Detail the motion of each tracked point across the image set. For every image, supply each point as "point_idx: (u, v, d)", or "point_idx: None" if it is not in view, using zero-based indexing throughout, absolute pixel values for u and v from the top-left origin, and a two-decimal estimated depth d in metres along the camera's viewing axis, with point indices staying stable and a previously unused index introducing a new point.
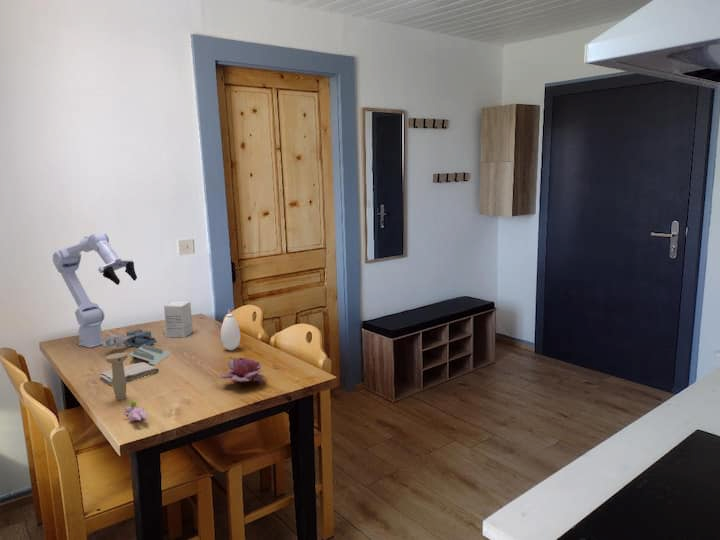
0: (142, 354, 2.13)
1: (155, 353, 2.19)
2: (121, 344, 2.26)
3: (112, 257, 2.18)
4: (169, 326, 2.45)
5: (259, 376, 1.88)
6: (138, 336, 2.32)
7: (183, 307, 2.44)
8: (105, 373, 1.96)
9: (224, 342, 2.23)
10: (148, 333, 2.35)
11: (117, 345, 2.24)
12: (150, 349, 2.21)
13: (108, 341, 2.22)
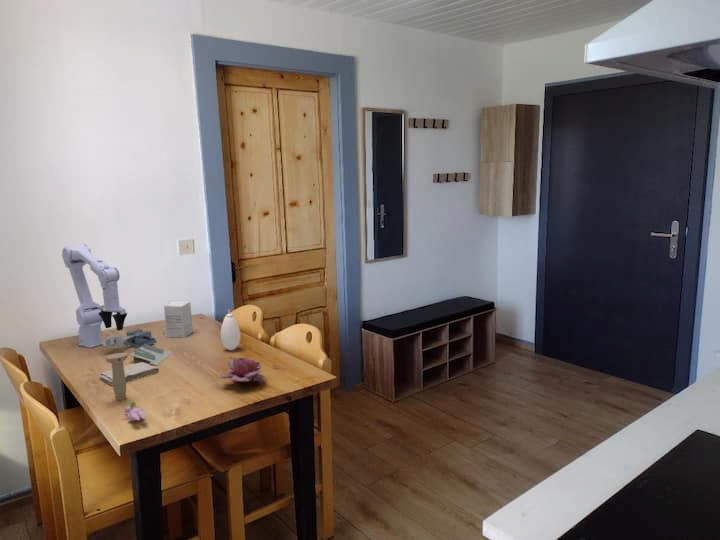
0: (143, 354, 2.13)
1: (156, 353, 2.19)
2: (121, 344, 2.26)
3: (104, 304, 2.22)
4: (169, 326, 2.45)
5: (259, 376, 1.88)
6: (138, 336, 2.32)
7: (183, 307, 2.44)
8: (105, 373, 1.96)
9: (224, 342, 2.23)
10: (148, 333, 2.35)
11: (117, 345, 2.24)
12: (151, 349, 2.20)
13: (108, 341, 2.22)
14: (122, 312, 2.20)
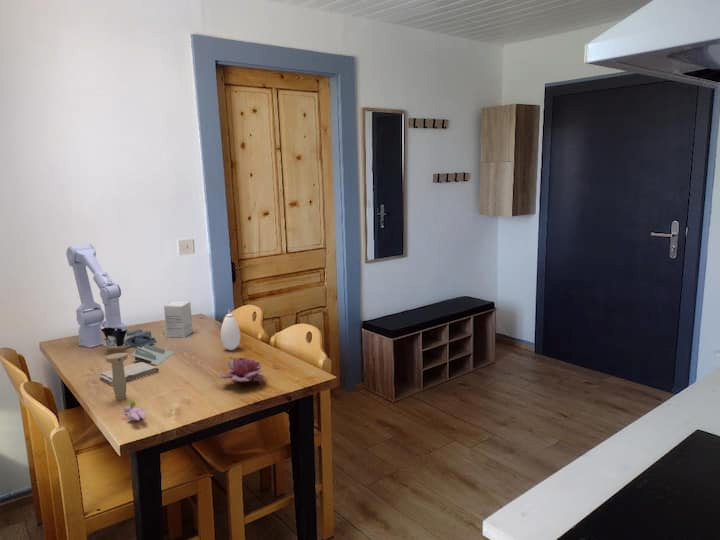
0: (144, 354, 2.13)
1: (157, 353, 2.19)
2: None
3: (106, 321, 2.23)
4: (169, 326, 2.45)
5: (259, 376, 1.88)
6: (138, 336, 2.32)
7: (183, 307, 2.44)
8: (105, 373, 1.96)
9: (224, 342, 2.23)
10: (148, 333, 2.35)
11: None
12: (152, 349, 2.21)
13: (108, 341, 2.22)
14: (124, 329, 2.21)
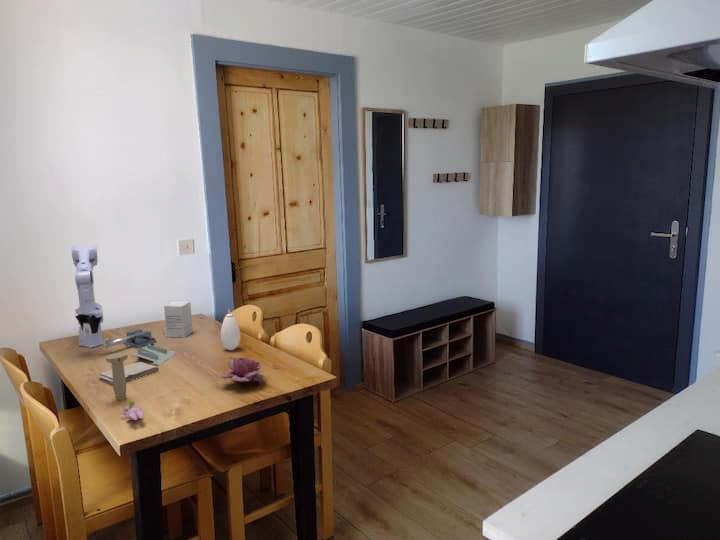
0: (147, 354, 2.13)
1: (160, 353, 2.19)
2: None
3: (79, 307, 2.18)
4: (169, 326, 2.45)
5: (259, 376, 1.88)
6: (138, 336, 2.32)
7: (183, 307, 2.44)
8: (105, 374, 1.96)
9: (224, 342, 2.23)
10: (148, 333, 2.35)
11: None
12: (155, 349, 2.21)
13: (108, 341, 2.22)
14: (98, 315, 2.16)
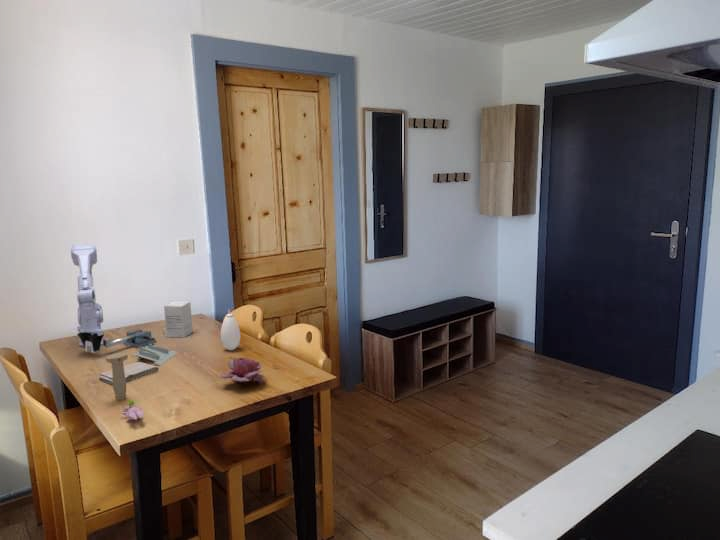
0: (148, 354, 2.13)
1: (161, 353, 2.19)
2: None
3: (81, 325, 2.19)
4: (169, 326, 2.45)
5: (259, 376, 1.88)
6: (138, 336, 2.32)
7: (183, 307, 2.44)
8: (105, 374, 1.96)
9: (224, 342, 2.23)
10: (148, 333, 2.35)
11: None
12: (156, 349, 2.21)
13: (108, 341, 2.22)
14: (100, 333, 2.17)
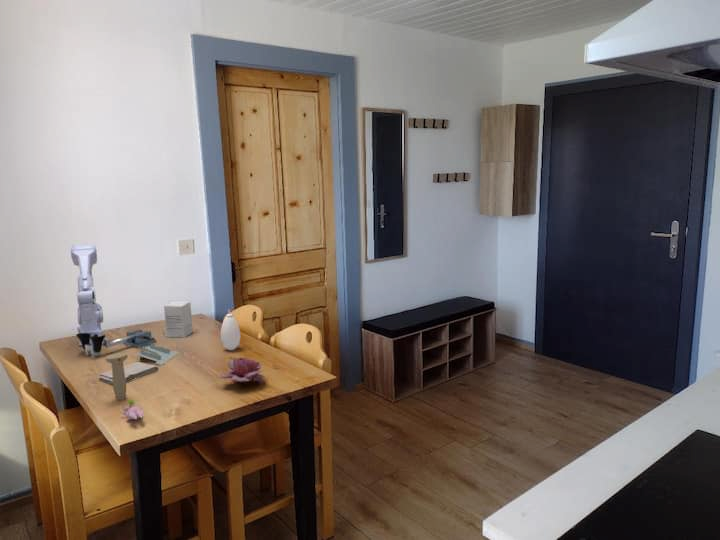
0: (149, 354, 2.13)
1: (162, 353, 2.19)
2: (98, 353, 2.23)
3: (82, 326, 2.19)
4: (169, 326, 2.45)
5: (259, 376, 1.88)
6: (138, 336, 2.32)
7: (183, 307, 2.44)
8: (105, 374, 1.96)
9: (224, 342, 2.23)
10: (148, 333, 2.35)
11: (94, 354, 2.21)
12: (158, 349, 2.21)
13: (108, 341, 2.22)
14: (100, 334, 2.18)
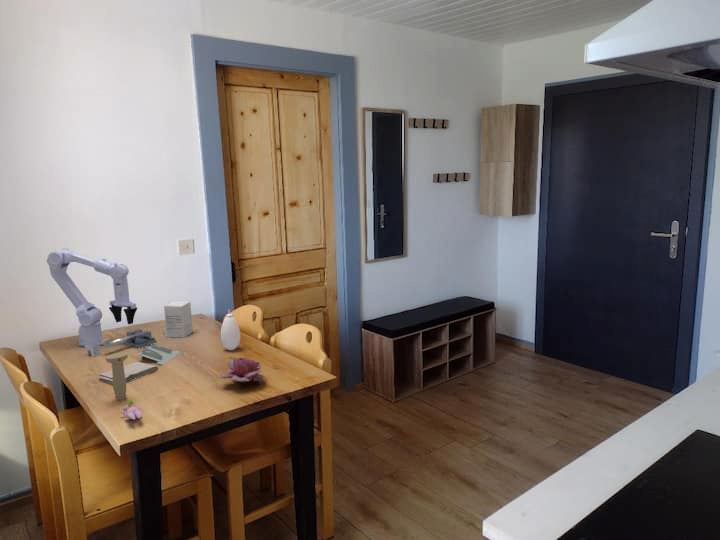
0: (151, 354, 2.14)
1: (164, 353, 2.20)
2: (98, 353, 2.23)
3: (115, 299, 2.33)
4: (169, 326, 2.45)
5: (259, 376, 1.88)
6: (138, 336, 2.32)
7: (183, 307, 2.44)
8: (104, 374, 1.95)
9: (224, 342, 2.23)
10: (148, 333, 2.35)
11: (94, 354, 2.21)
12: (159, 349, 2.21)
13: (108, 341, 2.22)
14: (133, 306, 2.31)
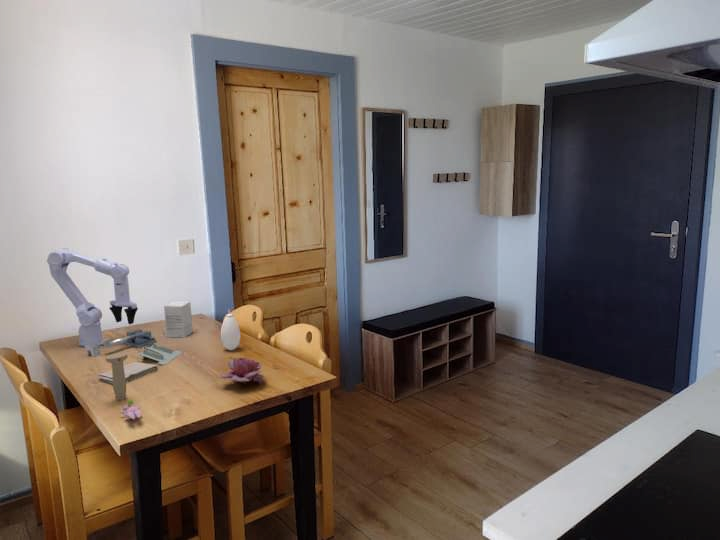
0: (152, 354, 2.13)
1: (165, 353, 2.19)
2: (98, 353, 2.23)
3: None
4: (169, 326, 2.45)
5: (259, 376, 1.88)
6: (138, 336, 2.32)
7: (183, 307, 2.44)
8: (104, 374, 1.95)
9: (224, 342, 2.23)
10: (148, 333, 2.35)
11: (94, 354, 2.21)
12: (160, 349, 2.21)
13: (108, 341, 2.22)
14: (134, 306, 2.31)
